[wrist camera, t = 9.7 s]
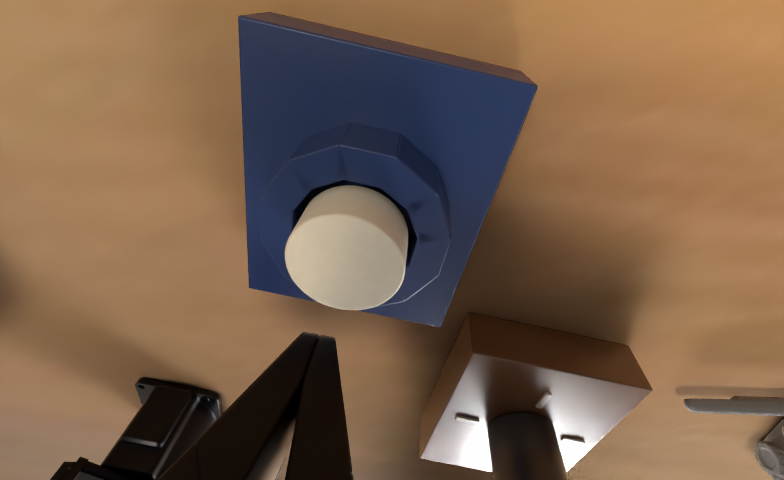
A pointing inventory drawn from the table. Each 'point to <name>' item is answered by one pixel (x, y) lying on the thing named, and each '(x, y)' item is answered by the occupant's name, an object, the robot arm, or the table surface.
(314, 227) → the cap
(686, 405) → the walkie-talkie
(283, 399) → the robot arm
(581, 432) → the dial panel
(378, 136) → the button housing
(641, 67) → the table surface
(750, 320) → the table surface
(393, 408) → the table surface
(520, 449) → the dial
